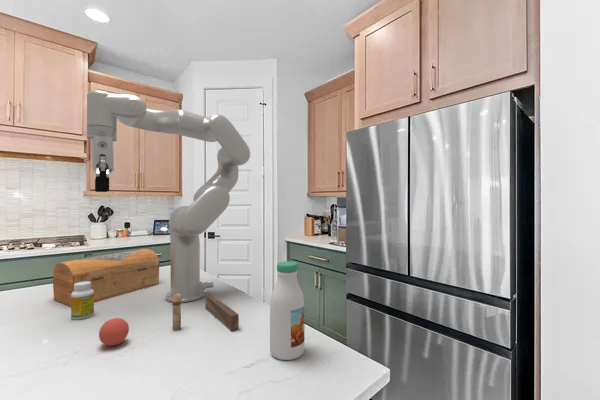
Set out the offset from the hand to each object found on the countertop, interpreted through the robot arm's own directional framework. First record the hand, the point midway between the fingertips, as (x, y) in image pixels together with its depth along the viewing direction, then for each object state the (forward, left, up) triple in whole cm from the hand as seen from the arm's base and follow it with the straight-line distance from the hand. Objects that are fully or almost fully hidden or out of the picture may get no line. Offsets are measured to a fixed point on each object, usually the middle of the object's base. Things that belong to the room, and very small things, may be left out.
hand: (101, 191), depth 89 cm
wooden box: (-3, -24, -37) cm, 44 cm away
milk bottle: (-32, +51, -37) cm, 71 cm away
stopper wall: (-27, +24, -36) cm, 52 cm away
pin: (-15, +24, -36) cm, 46 cm away
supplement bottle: (+5, -1, -37) cm, 37 cm away
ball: (-1, +24, -33) cm, 41 cm away
